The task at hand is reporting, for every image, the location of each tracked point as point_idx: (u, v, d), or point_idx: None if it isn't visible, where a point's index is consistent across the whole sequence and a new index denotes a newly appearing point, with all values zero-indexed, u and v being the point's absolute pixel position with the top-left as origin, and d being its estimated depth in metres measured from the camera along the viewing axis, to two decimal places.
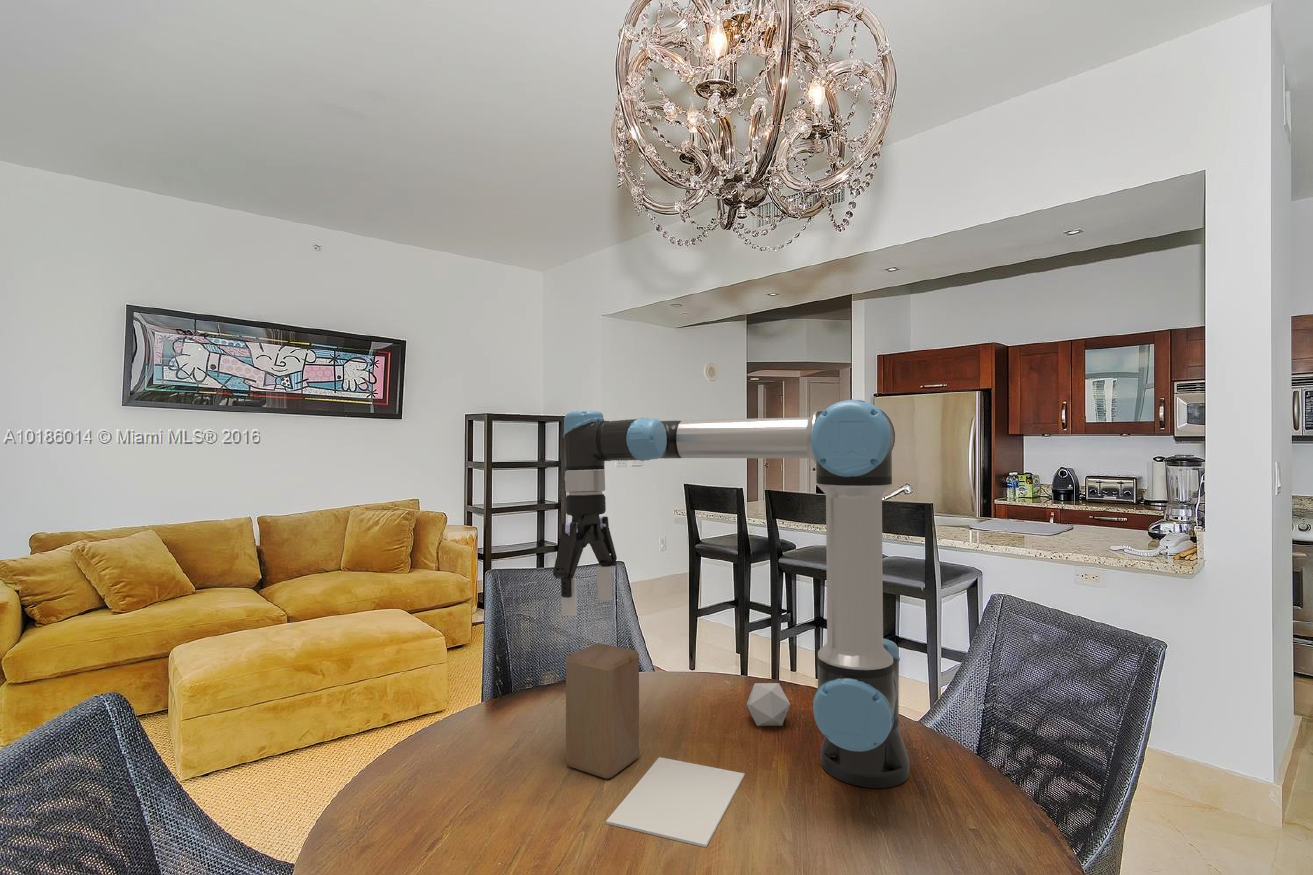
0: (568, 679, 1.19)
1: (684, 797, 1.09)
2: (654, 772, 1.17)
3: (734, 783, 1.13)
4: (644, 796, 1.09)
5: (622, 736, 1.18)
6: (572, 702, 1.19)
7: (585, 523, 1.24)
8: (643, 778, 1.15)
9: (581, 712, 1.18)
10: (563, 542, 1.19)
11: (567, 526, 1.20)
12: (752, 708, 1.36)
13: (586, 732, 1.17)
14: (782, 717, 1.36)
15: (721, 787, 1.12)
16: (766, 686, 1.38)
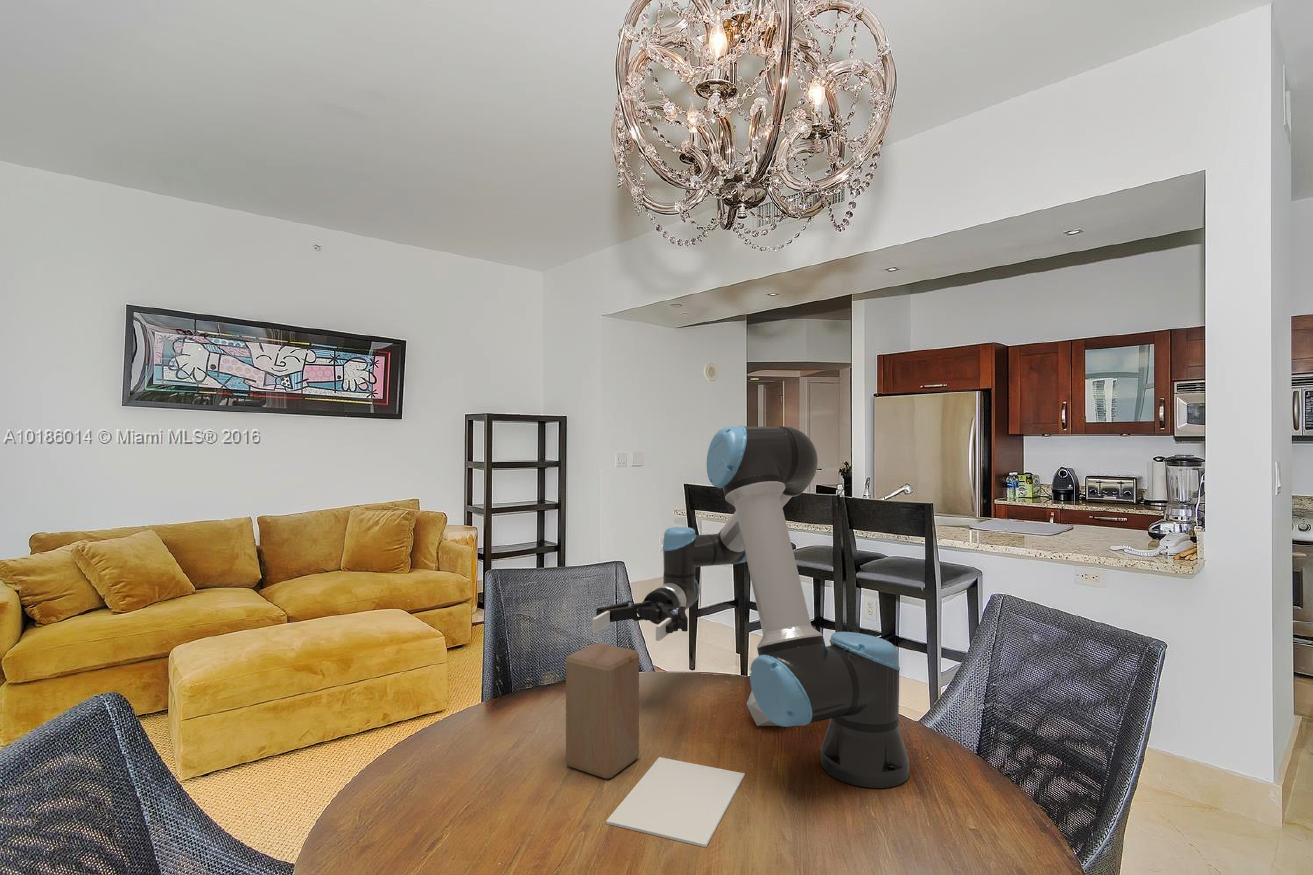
0: (568, 679, 1.19)
1: (684, 797, 1.09)
2: (654, 772, 1.17)
3: (734, 783, 1.13)
4: (644, 796, 1.09)
5: (622, 736, 1.18)
6: (572, 702, 1.19)
7: None
8: (643, 778, 1.15)
9: (581, 712, 1.18)
10: None
11: None
12: (752, 708, 1.36)
13: (586, 732, 1.17)
14: None
15: (721, 787, 1.12)
16: None
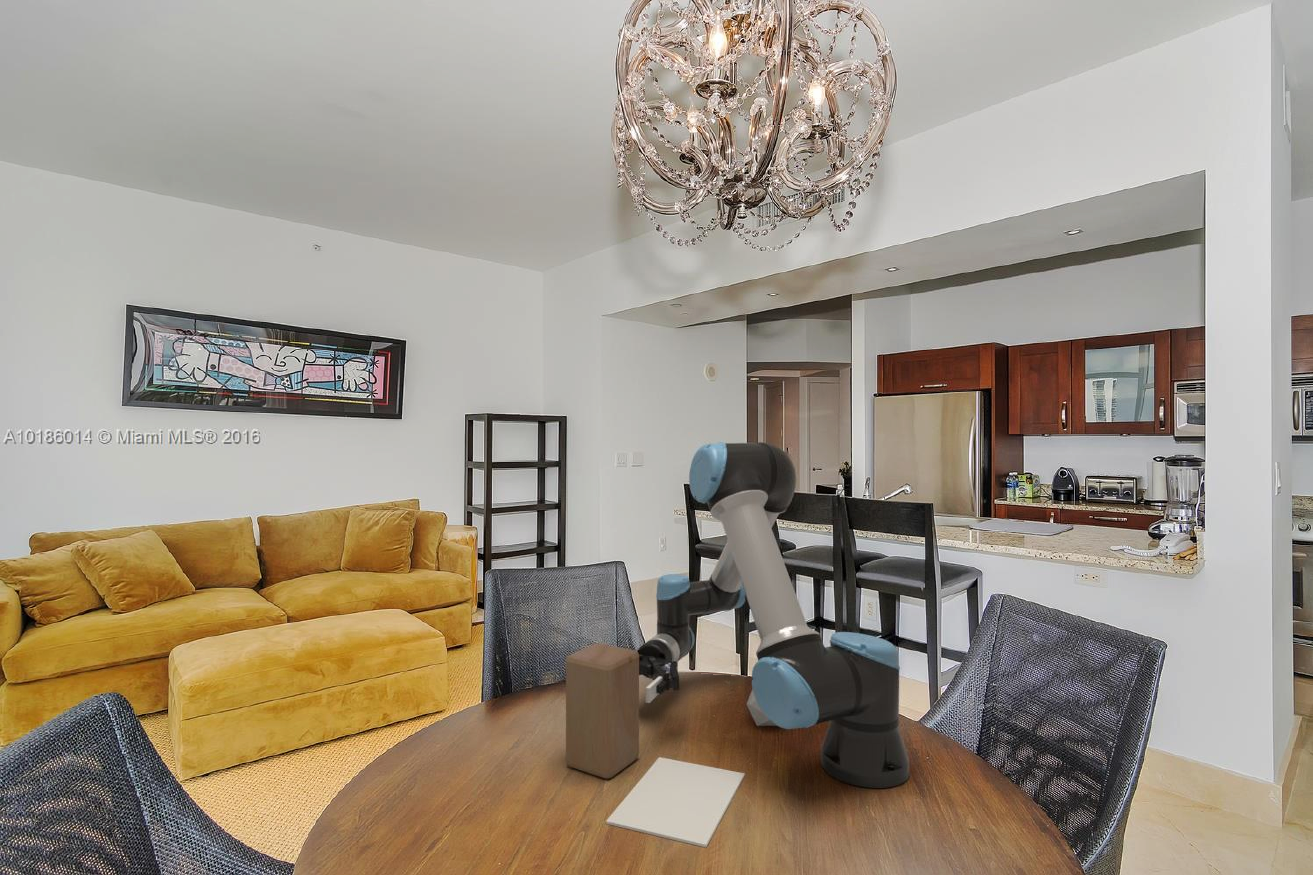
0: (568, 679, 1.19)
1: (684, 797, 1.09)
2: (654, 772, 1.17)
3: (734, 783, 1.13)
4: (644, 796, 1.09)
5: (622, 736, 1.18)
6: (572, 702, 1.19)
7: None
8: (643, 778, 1.15)
9: (581, 712, 1.18)
10: None
11: None
12: (752, 708, 1.36)
13: (586, 732, 1.17)
14: None
15: (721, 787, 1.12)
16: None
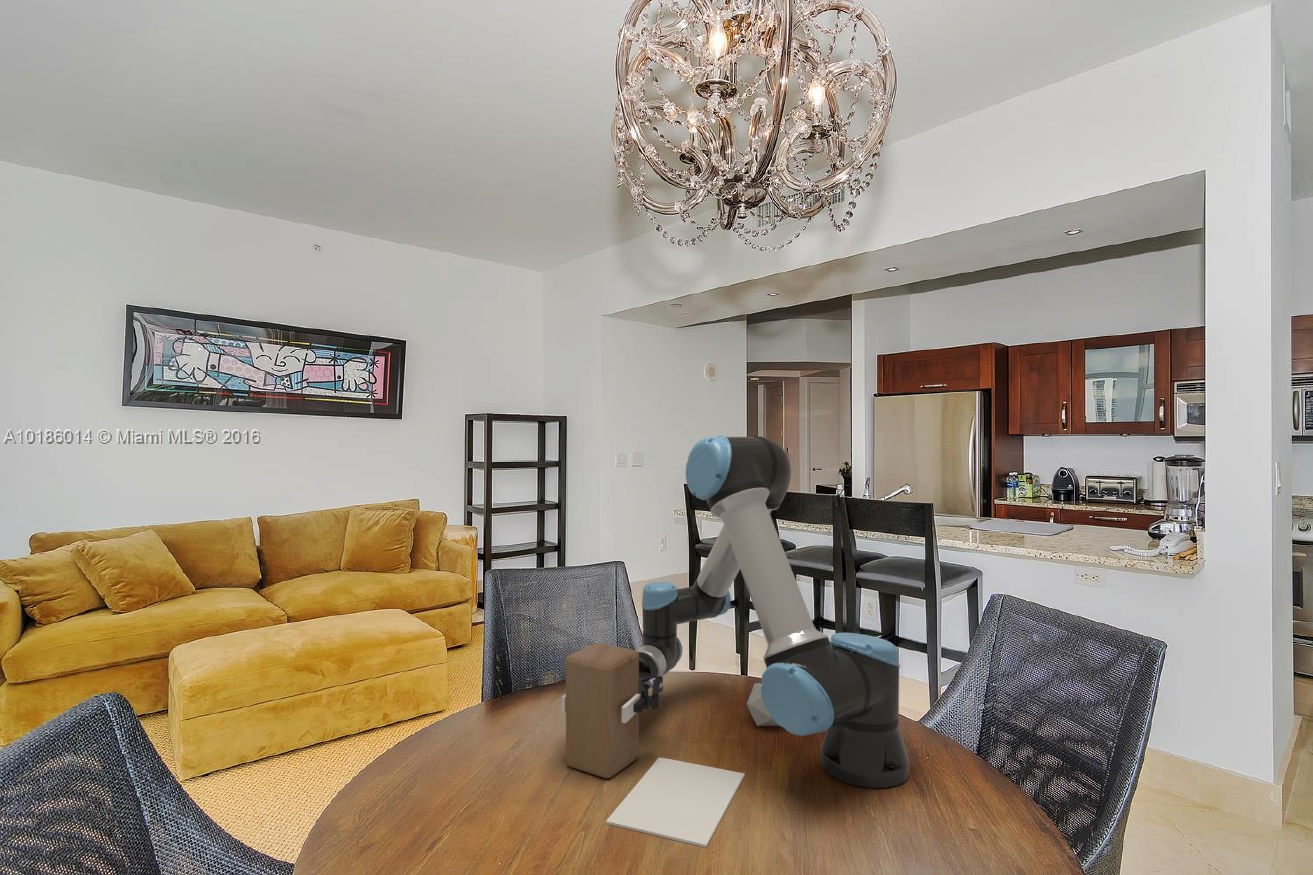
0: (568, 679, 1.19)
1: (684, 797, 1.09)
2: (654, 772, 1.17)
3: (734, 783, 1.13)
4: (644, 796, 1.09)
5: (622, 736, 1.18)
6: (572, 702, 1.19)
7: None
8: (643, 778, 1.15)
9: (581, 712, 1.18)
10: None
11: None
12: (752, 708, 1.36)
13: (586, 732, 1.17)
14: None
15: (721, 787, 1.12)
16: None
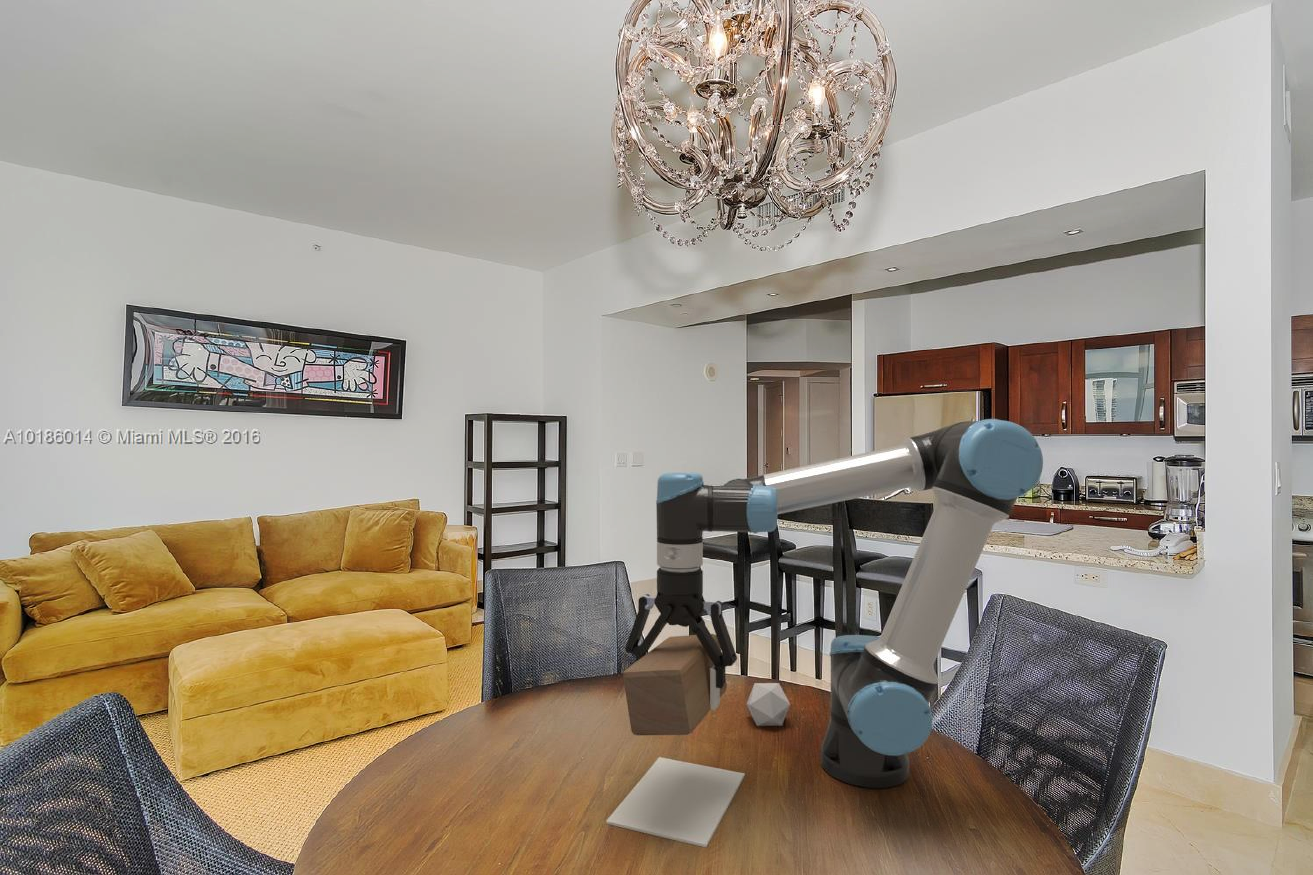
0: None
1: (684, 797, 1.09)
2: (654, 772, 1.17)
3: (734, 783, 1.13)
4: (644, 796, 1.09)
5: None
6: None
7: None
8: (643, 778, 1.15)
9: None
10: (722, 626, 1.06)
11: (720, 607, 1.07)
12: (752, 708, 1.36)
13: None
14: (782, 717, 1.36)
15: (721, 787, 1.12)
16: (766, 686, 1.38)
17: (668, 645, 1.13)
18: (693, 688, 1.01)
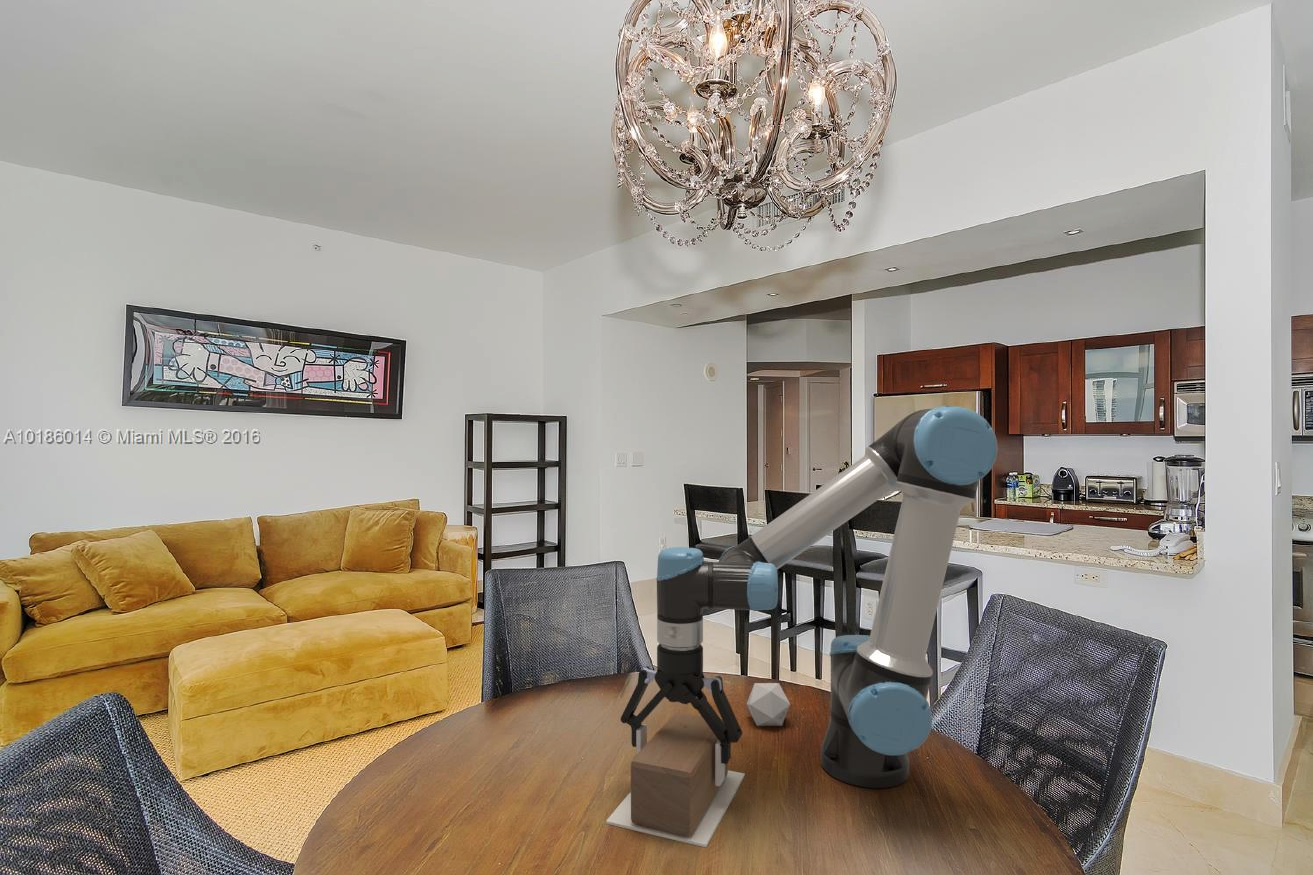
0: None
1: None
2: None
3: (734, 783, 1.13)
4: None
5: None
6: None
7: None
8: None
9: None
10: (724, 702, 1.06)
11: (720, 683, 1.07)
12: (752, 708, 1.36)
13: None
14: (782, 717, 1.36)
15: (721, 787, 1.12)
16: (766, 686, 1.38)
17: (677, 727, 1.12)
18: (699, 788, 1.01)
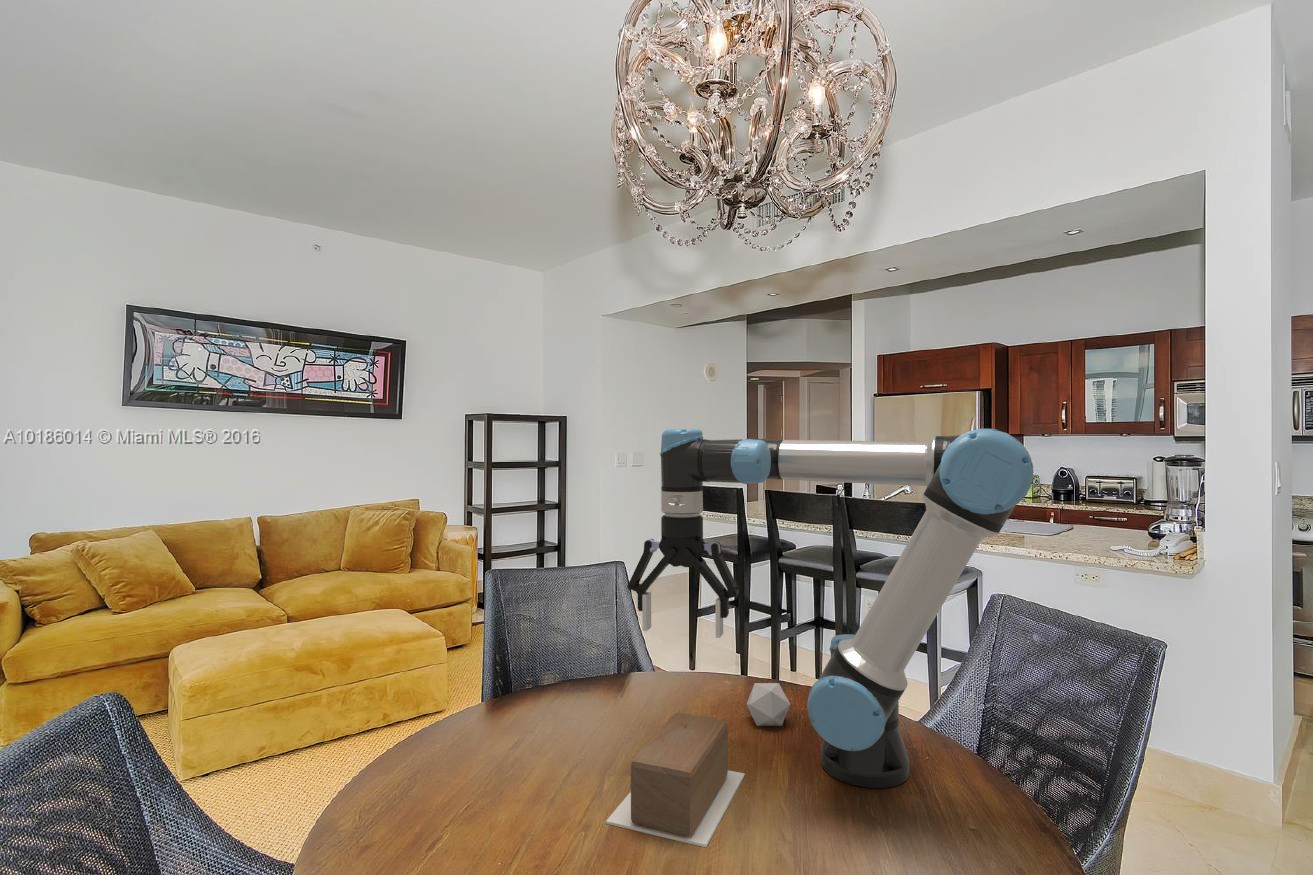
0: None
1: None
2: None
3: (734, 783, 1.13)
4: None
5: None
6: None
7: None
8: None
9: None
10: (723, 563, 1.18)
11: (719, 546, 1.19)
12: (752, 708, 1.36)
13: None
14: (782, 717, 1.36)
15: (721, 787, 1.12)
16: (766, 686, 1.38)
17: (677, 727, 1.12)
18: (699, 788, 1.01)
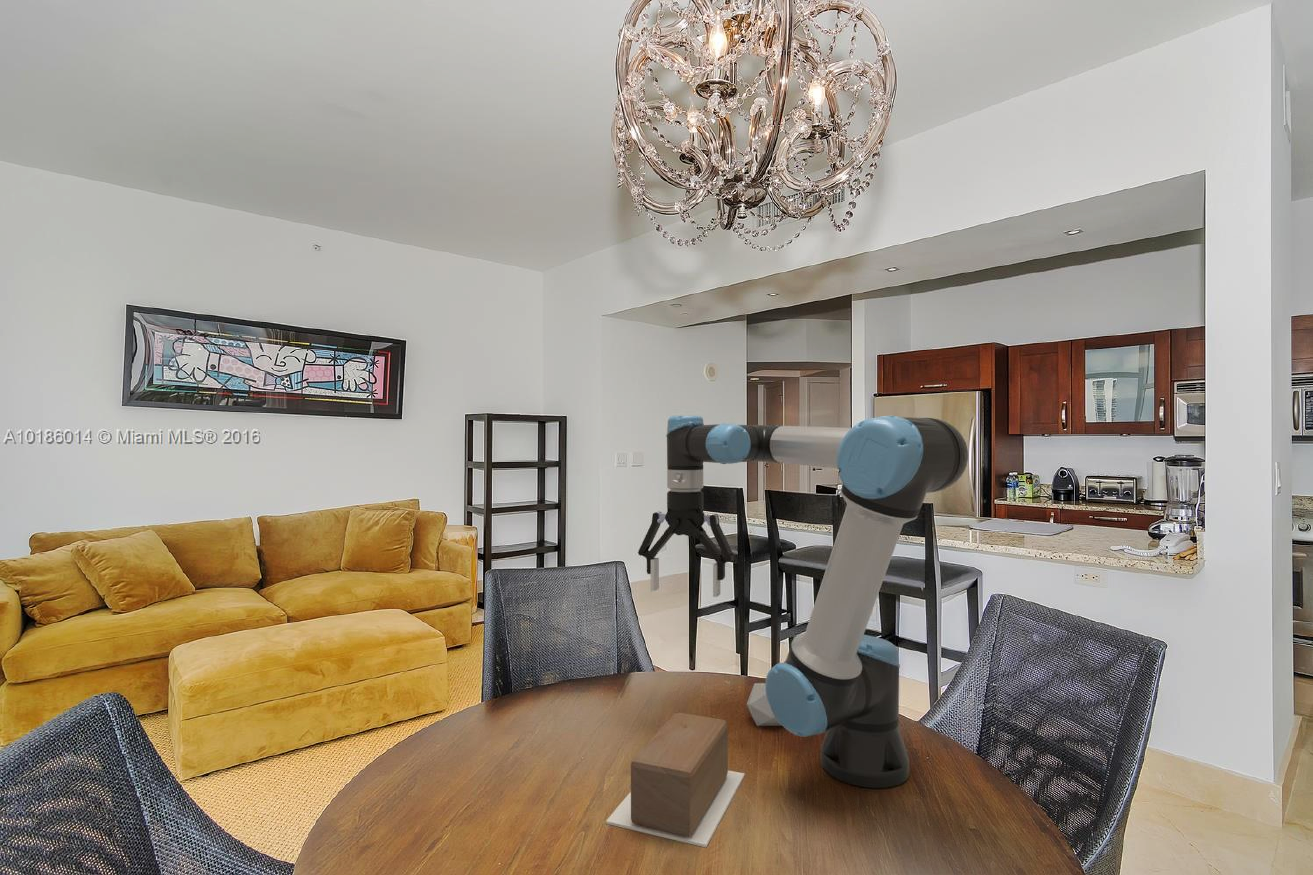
0: None
1: None
2: None
3: (734, 783, 1.13)
4: None
5: None
6: None
7: None
8: None
9: None
10: (720, 532, 1.35)
11: (716, 518, 1.36)
12: (752, 708, 1.36)
13: None
14: None
15: (721, 787, 1.12)
16: None
17: (677, 727, 1.12)
18: (699, 788, 1.01)
